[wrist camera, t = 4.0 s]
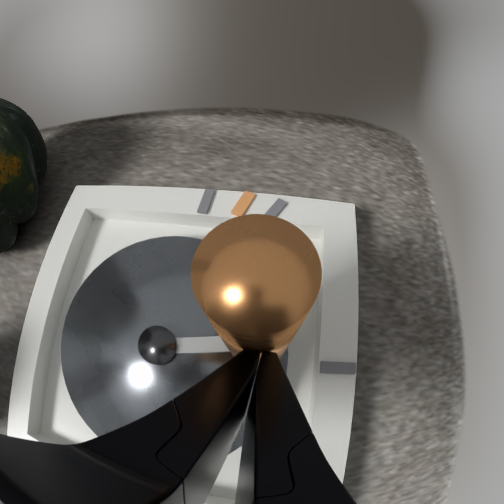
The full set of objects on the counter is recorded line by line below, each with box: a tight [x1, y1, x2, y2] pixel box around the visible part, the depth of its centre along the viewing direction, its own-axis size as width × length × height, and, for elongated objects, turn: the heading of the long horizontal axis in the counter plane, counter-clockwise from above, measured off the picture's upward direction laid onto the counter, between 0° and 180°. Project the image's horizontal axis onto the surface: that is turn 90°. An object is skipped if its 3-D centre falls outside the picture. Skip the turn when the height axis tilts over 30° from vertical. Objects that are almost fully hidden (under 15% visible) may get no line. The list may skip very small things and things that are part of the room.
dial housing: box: [7, 186, 359, 504], centre depth 15 cm, size 20×20×3 cm
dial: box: [61, 214, 322, 454], centre depth 11 cm, size 13×13×10 cm
